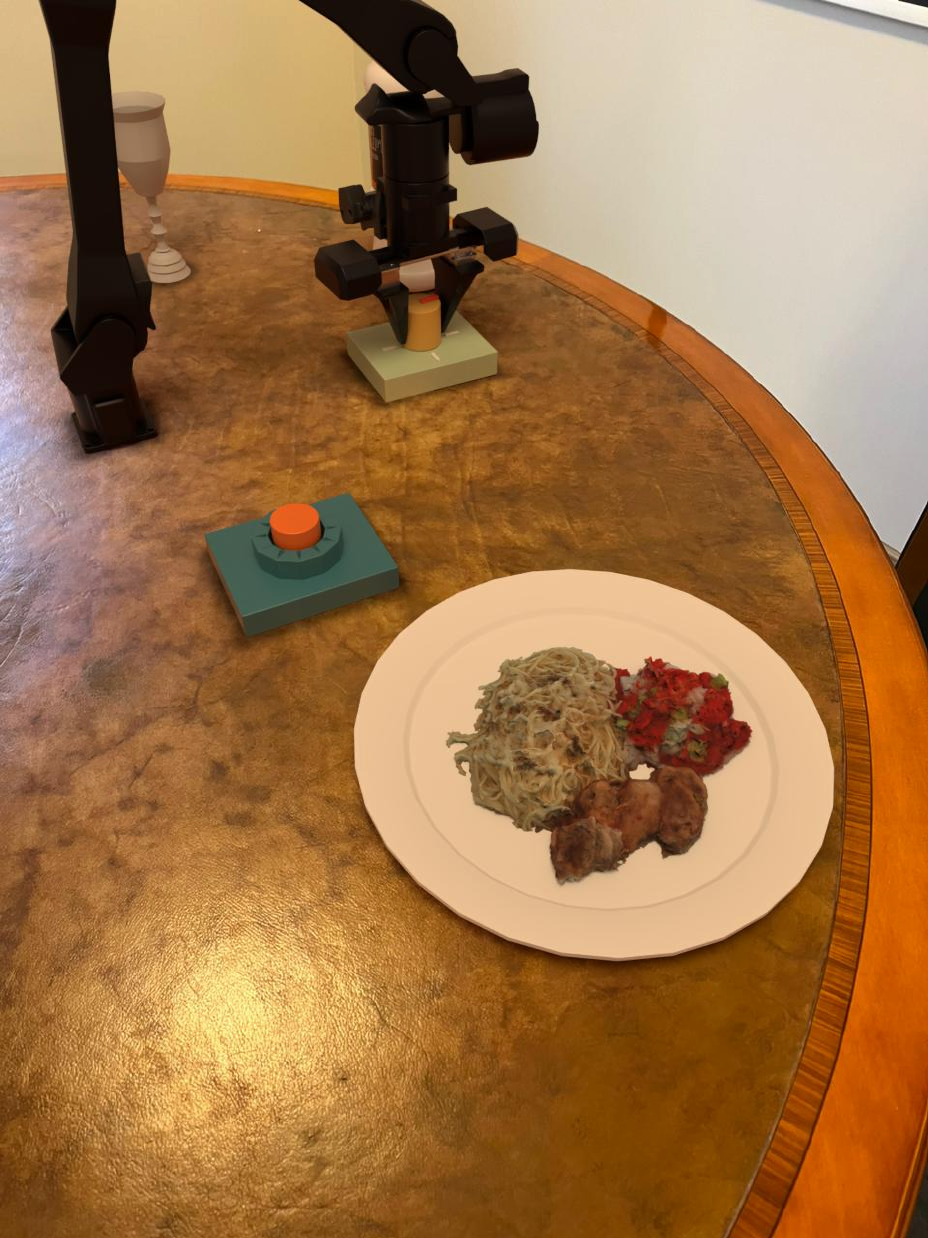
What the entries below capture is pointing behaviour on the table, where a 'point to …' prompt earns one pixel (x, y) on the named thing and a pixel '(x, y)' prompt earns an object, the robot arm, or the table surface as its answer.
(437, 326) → the lock dial
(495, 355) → the panel
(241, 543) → the teal button base
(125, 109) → the chalice
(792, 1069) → the table surface
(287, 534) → the button
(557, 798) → the plated food
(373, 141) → the vodka
